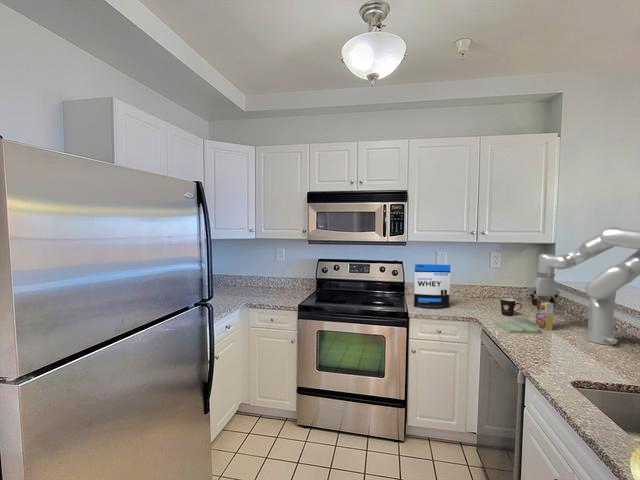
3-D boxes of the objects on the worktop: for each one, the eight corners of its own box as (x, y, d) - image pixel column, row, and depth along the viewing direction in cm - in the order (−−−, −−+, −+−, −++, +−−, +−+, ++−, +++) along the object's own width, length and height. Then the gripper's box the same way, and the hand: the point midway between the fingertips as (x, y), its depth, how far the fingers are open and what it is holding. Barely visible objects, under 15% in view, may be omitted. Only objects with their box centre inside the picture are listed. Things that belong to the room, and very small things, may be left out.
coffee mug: (496, 313, 216) (497, 298, 215) (505, 312, 219) (506, 297, 219) (513, 318, 205) (513, 302, 205) (522, 317, 209) (523, 301, 208)
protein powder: (412, 305, 236) (413, 263, 234) (446, 306, 235) (448, 264, 233) (415, 308, 226) (416, 265, 225) (451, 309, 225) (453, 265, 224)
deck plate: (541, 333, 177) (541, 330, 177) (509, 333, 177) (510, 330, 177) (523, 324, 193) (523, 321, 193) (494, 323, 193) (494, 321, 193)
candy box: (534, 325, 192) (535, 299, 191) (541, 325, 192) (542, 299, 191) (545, 330, 183) (546, 303, 182) (552, 330, 183) (554, 303, 182)
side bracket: (537, 330, 177) (538, 324, 177) (522, 330, 177) (522, 324, 177) (523, 323, 190) (523, 317, 190) (508, 323, 190) (509, 317, 190)
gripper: (556, 275, 190) (553, 304, 191) (525, 274, 190) (523, 303, 191) (565, 277, 182) (563, 308, 183) (534, 276, 182) (531, 307, 183)
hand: (542, 305), depth 187 cm, fingers open, 9 cm apart
